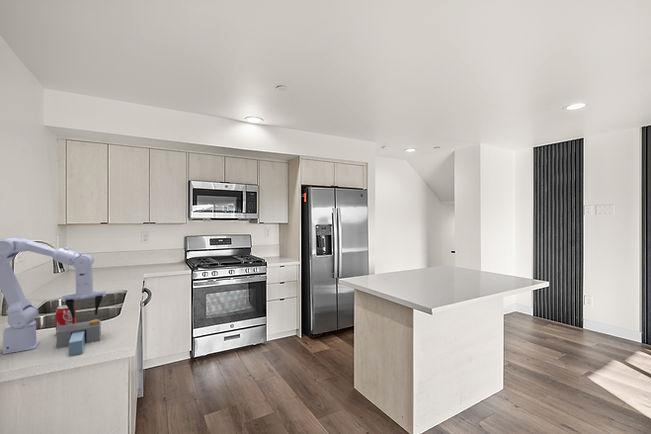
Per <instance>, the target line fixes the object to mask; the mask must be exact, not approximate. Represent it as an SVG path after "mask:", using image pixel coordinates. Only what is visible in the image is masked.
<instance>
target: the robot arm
mask: <svg viewBox="0 0 651 434" xmlns="http://www.w3.org/2000/svg"><path fill="white" fill-rule="evenodd" d="M23 252H30V253H35V254H39V255H44V256H48V257H51V258H52V259H53V261H54V262H57V263H61V264H64V265H67V266H70V267H73V268H74V269H75V293H73V294H68V295H66V294H65V295H62V297H61V302H65V304H64V305H67V307H68V308H69V310H70V312H71V315H72V318H74V317H75V311H76V310H75V311H74V308H75V301H76V300H83V299H84V300H85V299H91V298H92V299H93V298H94V305H95V310H94V315H95V316H96V315H98V311H99V307H100V304H101V302H102V299H103V297H106V295H107V293H106V292H107V291H106V290H104V291H103V290H101V291H94V288H93V287H94V284H93V281H94V280H93V279H94V278H93V264H94V263H95V262H94V261H95V259H94V256H92V255H91V254H89V253H82V252H81V251H78V252H77V251H74V250H71V249H70V248H69V247H59V248H57V249H56V248H53V247H51V246H48V245H45V244H42V243H39V242H37V241H33V240H30V239H28V238H22V237H19V236H13V237H9V238H7V237H6V238H0V291H1V294H2V295H3V297H4V299H5V301H6V304H7V305H8V306H7V310H6V314H7V324H8V326H9V327H6V328H5V329H3V333H2V349H3V350H2V351H3V352H2V354H3V355H7V354H11V353H17V352H18V353H19V352H22V351H29V350H34V349H36V348H37V347H38V345H39V344H40V340H37V321H36V318H38V316H39V309H38V308H37V307H35V306H34V305H33V303H32V301H31V300H28V299H27V298H26V296H25V294H24V292H23V289H22V288H21V285H20V283H19V281H18V279H17V276H16V275H15V272H14V269H13V267H12V265H11V262H12V260H13V259H14V257H15V256H16V255H18V254H19V253H23Z"/></svg>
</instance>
